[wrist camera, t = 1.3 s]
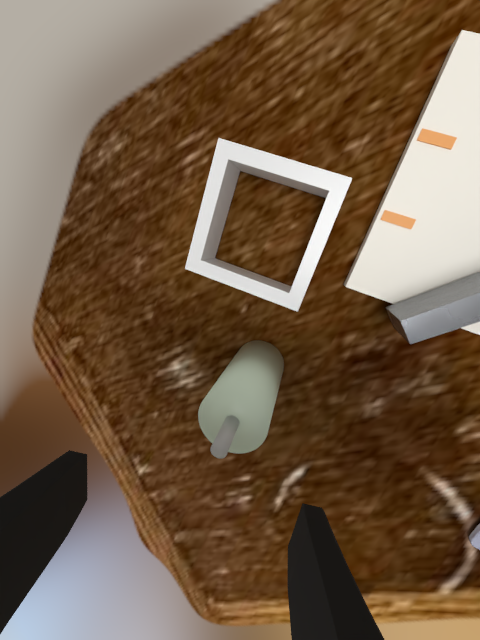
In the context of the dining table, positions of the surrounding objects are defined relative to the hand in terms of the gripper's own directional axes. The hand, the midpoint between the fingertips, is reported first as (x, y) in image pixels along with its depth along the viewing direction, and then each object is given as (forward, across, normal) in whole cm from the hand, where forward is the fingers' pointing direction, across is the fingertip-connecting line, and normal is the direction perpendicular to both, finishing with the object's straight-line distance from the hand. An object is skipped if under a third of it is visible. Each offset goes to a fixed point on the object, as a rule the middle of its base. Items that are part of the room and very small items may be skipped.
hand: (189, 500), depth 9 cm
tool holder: (+12, -1, -8) cm, 14 cm away
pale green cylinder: (+11, -2, 0) cm, 11 cm away
